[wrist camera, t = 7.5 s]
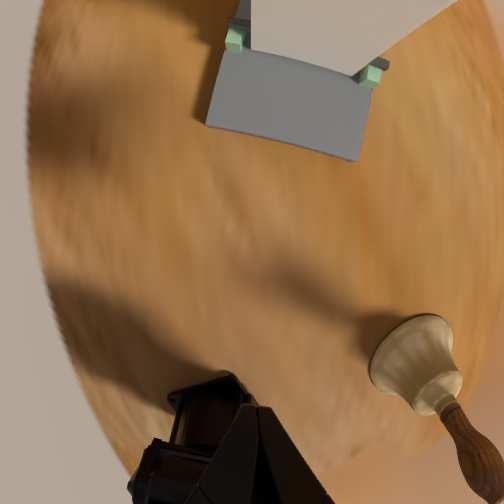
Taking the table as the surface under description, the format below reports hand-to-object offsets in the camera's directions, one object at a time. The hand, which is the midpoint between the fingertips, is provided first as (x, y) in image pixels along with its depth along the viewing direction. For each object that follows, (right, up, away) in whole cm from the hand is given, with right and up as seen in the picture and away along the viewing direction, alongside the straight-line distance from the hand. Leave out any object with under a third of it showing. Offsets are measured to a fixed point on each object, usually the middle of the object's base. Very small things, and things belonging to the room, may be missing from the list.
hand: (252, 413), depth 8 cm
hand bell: (+14, -4, +14) cm, 20 cm away
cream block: (+3, +16, +6) cm, 18 cm away
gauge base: (+3, +16, +8) cm, 18 cm away
